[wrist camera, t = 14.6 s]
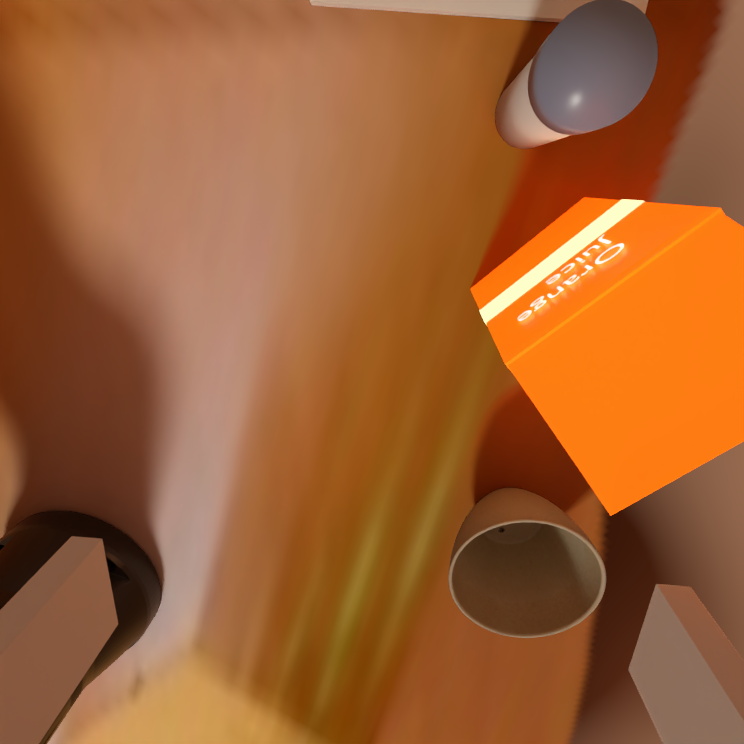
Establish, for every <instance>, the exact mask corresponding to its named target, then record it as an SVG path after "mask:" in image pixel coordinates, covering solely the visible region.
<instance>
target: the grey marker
mask: <svg viewBox="0 0 744 744" xmlns="http://www.w3.org/2000/svg"><path fill="white" fill-rule="evenodd" d="M657 59H658V45H657V39H656V35H655V32H654V29H653V27H652V25H651V23H650V21H649V20H648V18H647V17H646V15H645V14H644V13H643V12H642V11H641V10H640V9H638V8H637V7H636V6H634V5H633V4H631V3H629V2H626V1H623V0H594V1H591V2H588V3H586V4H584V5H582V6H580V7H578V8H577V9H575V10H573V11H572V12H571V13H570V14H568V15H567V16H566V17H565V18H564V19H563V20H562V21H561V22H560V23H559V24H558V25H557V27H556V28H555V29H554V30H553V31H552V32H551V34H550V35H549V36H548V37H547V38H546V39H545V41H544V42H543V43H542V45H541V46H540V48H539V49H538V51H537V52H536V54H535V56H534V57H533V58H532V59H531V61H530V62H529V63H528V64H527V65H526V66H525V67H524V69H523V70H522V71H521V72H520V73H519V74H518V75H517V77H516V78H515V79H514V80H513V81H512V82H511V83H510V85H509V86H508V87H507V88H506V89H505V91H504V92H503V93H502V95H501V96H500V98H499V100H498V103H497V106H496V111H495V123H496V128H497V130H498V133H499V135H500V136H501V138H502V139H503V140H504V141H505V142H506V143H507V144H509V145H510V146H512V147H515V148H518V149H531V148H534V147H537V146H540V145H543V144H546V143H549V142H552V141H555V140H558V139H562V138H565V137H568V136H571V135H579V134H584V133H588V132H591V131H594V130H597V129H601V128H604V127H607V126H609V125H612V124H614V123H616V122H617V121H619V120H621V119H622V118H624V117H625V116H627V115H628V114H629V113H630V112H631V111H632V110H633V109H634V108H635V107H636V106H637V105H638V104H639V103H640V101H641V100H642V99H643V97H644V96H645V94H646V92H647V91H648V89H649V87H650V85H651V83H652V80H653V77H654V74H655V71H656V66H657Z"/></svg>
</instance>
